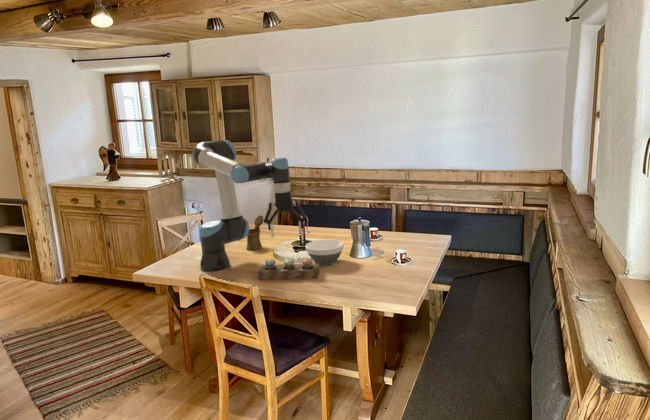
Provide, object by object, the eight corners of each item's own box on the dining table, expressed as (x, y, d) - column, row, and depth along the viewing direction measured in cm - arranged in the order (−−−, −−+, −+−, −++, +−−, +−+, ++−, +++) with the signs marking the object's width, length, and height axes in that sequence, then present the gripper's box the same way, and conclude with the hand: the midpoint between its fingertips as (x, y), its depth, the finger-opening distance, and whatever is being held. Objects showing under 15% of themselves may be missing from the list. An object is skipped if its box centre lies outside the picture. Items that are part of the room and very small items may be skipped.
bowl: (323, 254, 254) (322, 237, 252) (352, 259, 241) (351, 242, 239) (298, 264, 239) (297, 246, 237) (328, 271, 227) (327, 252, 225)
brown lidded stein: (269, 244, 279) (267, 215, 276) (255, 251, 268) (252, 220, 265) (258, 243, 284) (255, 214, 280) (243, 249, 273) (240, 219, 269)
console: (258, 279, 221) (257, 271, 220) (264, 272, 230) (263, 264, 230) (317, 278, 217) (316, 270, 216) (320, 271, 227) (319, 263, 226)
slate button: (264, 271, 222) (264, 262, 221) (267, 268, 227) (266, 259, 226) (274, 271, 222) (273, 262, 221) (276, 268, 226) (276, 259, 225)
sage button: (283, 271, 221) (282, 262, 220) (285, 268, 226) (284, 259, 225) (293, 271, 220) (292, 262, 219) (295, 267, 225) (294, 258, 224)
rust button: (302, 271, 220) (301, 261, 219) (303, 267, 224) (303, 258, 224) (312, 270, 219) (311, 261, 218) (313, 267, 224) (313, 258, 223)
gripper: (254, 194, 214) (259, 239, 218) (308, 191, 211) (312, 236, 215) (258, 191, 221) (263, 235, 225) (310, 188, 218) (314, 232, 222)
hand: (287, 236), depth 220 cm, fingers open, 13 cm apart
